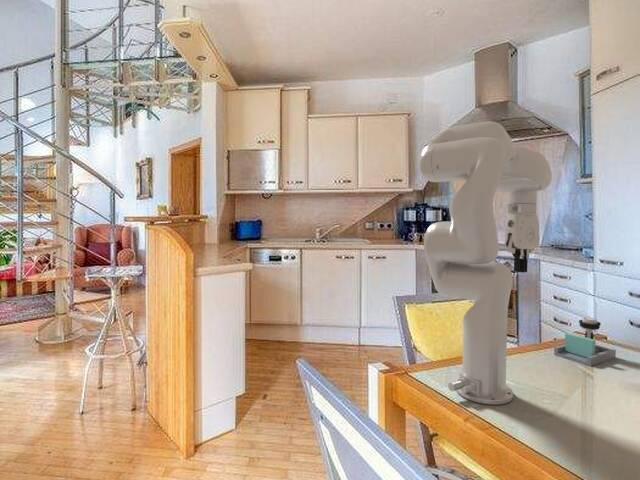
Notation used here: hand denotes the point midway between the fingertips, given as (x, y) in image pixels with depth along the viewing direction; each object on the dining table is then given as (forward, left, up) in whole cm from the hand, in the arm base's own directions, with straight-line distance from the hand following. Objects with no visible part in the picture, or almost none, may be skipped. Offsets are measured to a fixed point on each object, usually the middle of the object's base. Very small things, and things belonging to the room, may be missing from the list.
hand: (520, 271), depth 113 cm
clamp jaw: (+12, -10, -24) cm, 29 cm away
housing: (+15, -10, -25) cm, 31 cm away
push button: (+17, -10, -24) cm, 32 cm away
